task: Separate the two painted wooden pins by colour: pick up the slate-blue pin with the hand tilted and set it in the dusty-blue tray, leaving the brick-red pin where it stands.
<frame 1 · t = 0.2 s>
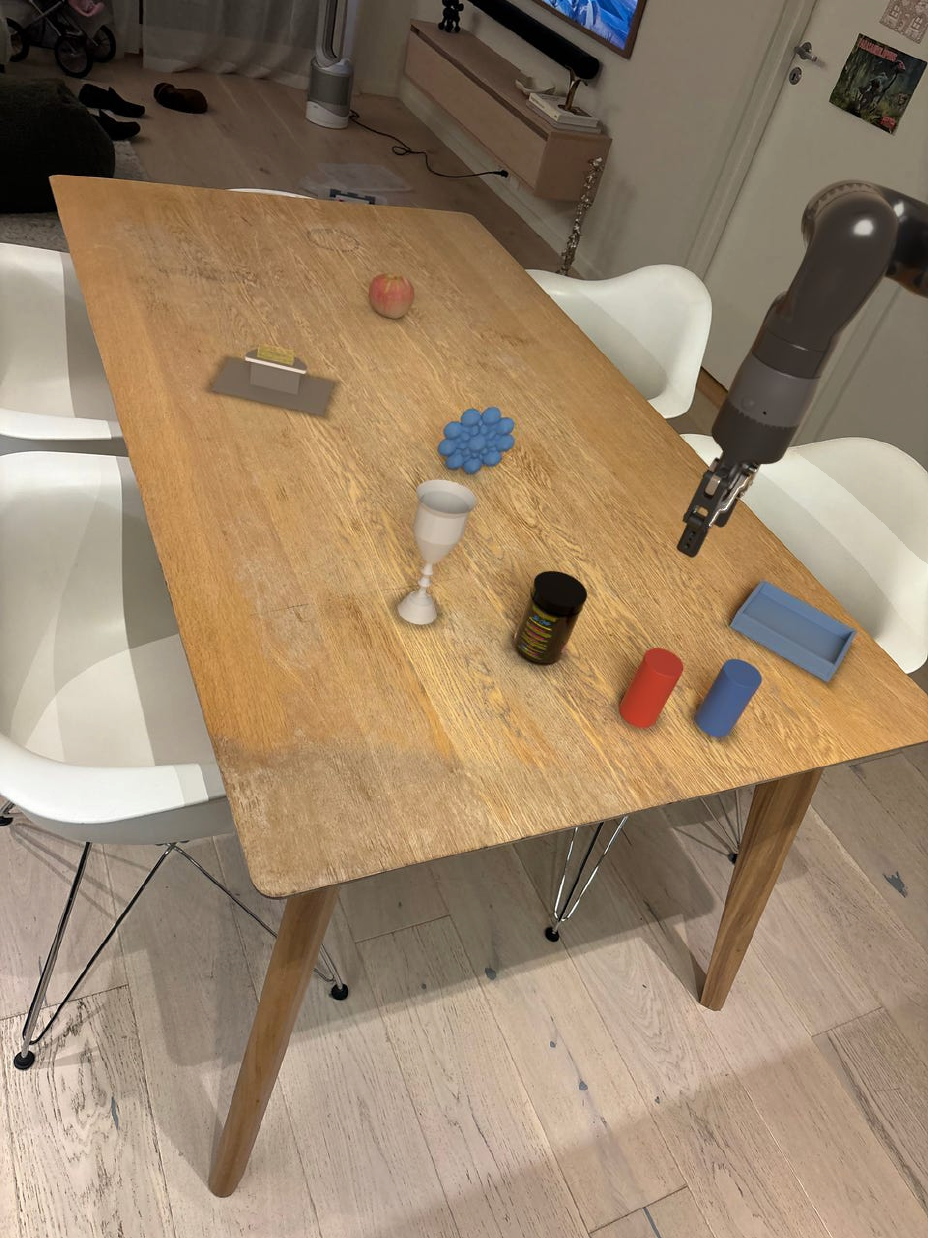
hand: (700, 537, 99), 25 cm above the table, tool pointing down, fingers open, 8 cm apart
red pin: (637, 713, 113), on the table
supplement container: (536, 651, 118), on the table
chalice: (416, 612, 118), on the table
blue bubble cluster: (467, 470, 147), on the table
blue tray: (789, 635, 133), on the table
apple: (387, 315, 184), on the table
blue pin: (712, 723, 115), on the table
platform: (274, 387, 152), on the table
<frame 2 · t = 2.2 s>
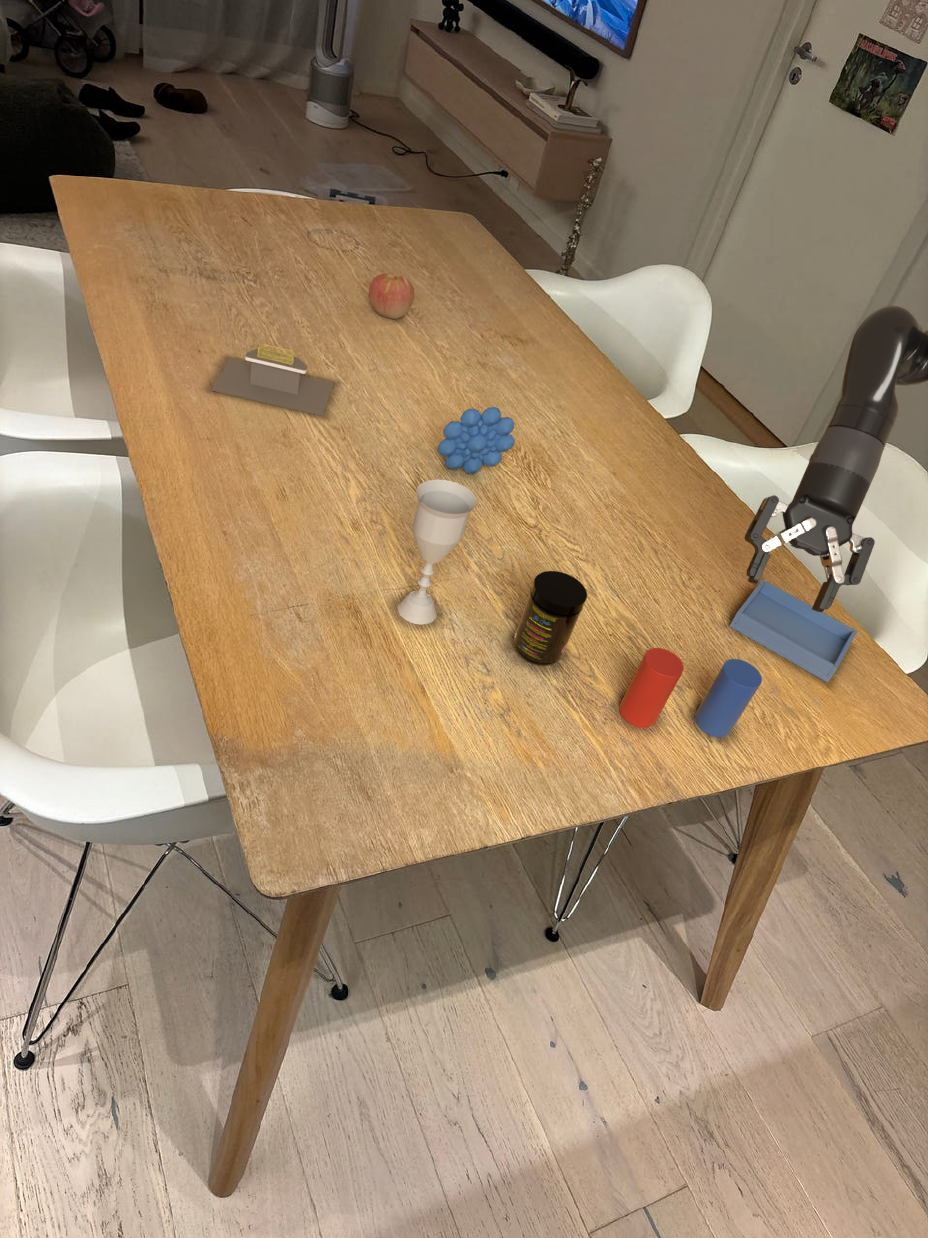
hand: (785, 596, 111), 16 cm above the table, tool tilted 40°, fingers open, 8 cm apart
nothing on the table moved.
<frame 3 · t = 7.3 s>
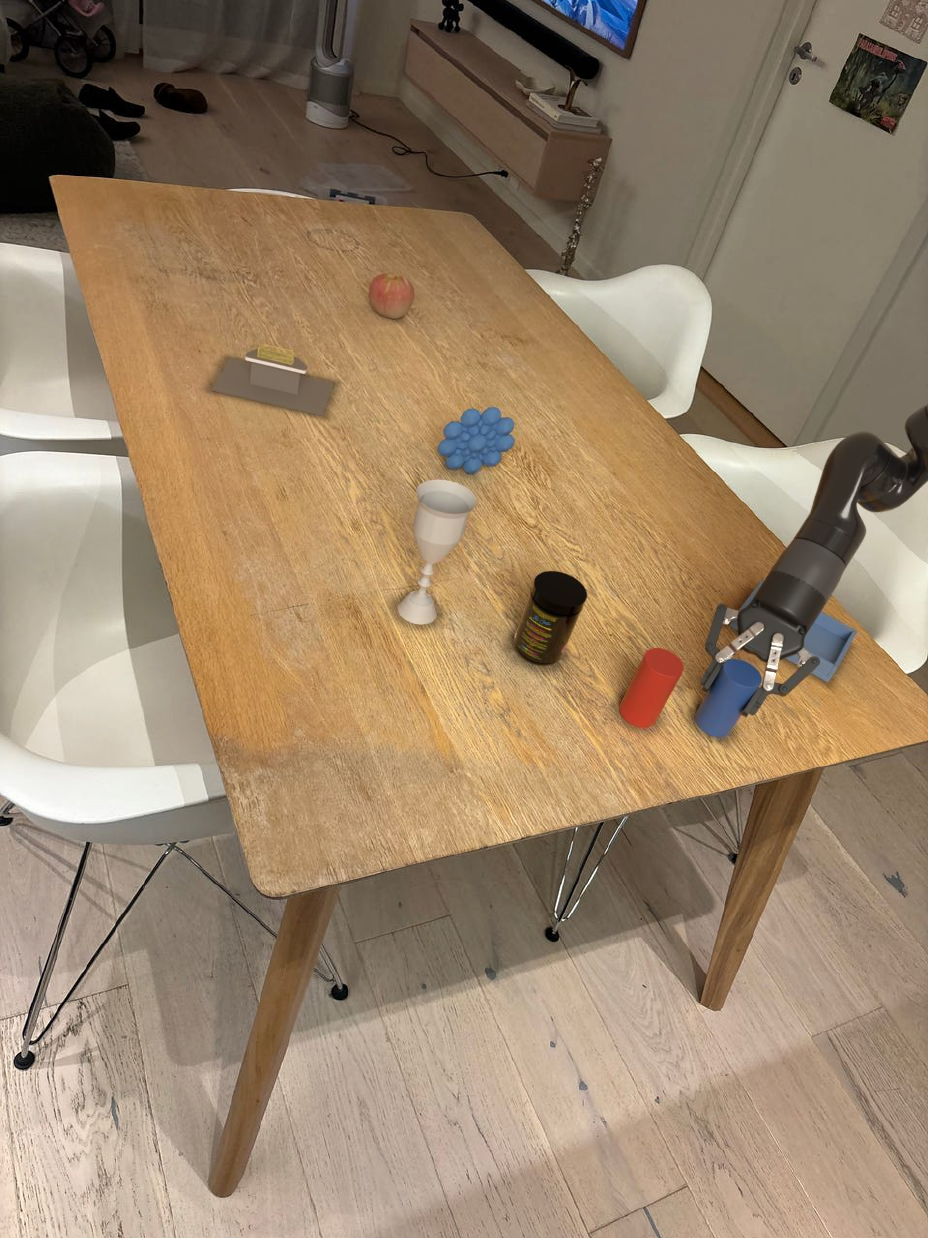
hand: (724, 703, 110), 5 cm above the table, tool tilted 45°, fingers closed on blue pin, 4 cm apart
blue pin: (712, 723, 115), on the table, touching gripper
everything else where it was.
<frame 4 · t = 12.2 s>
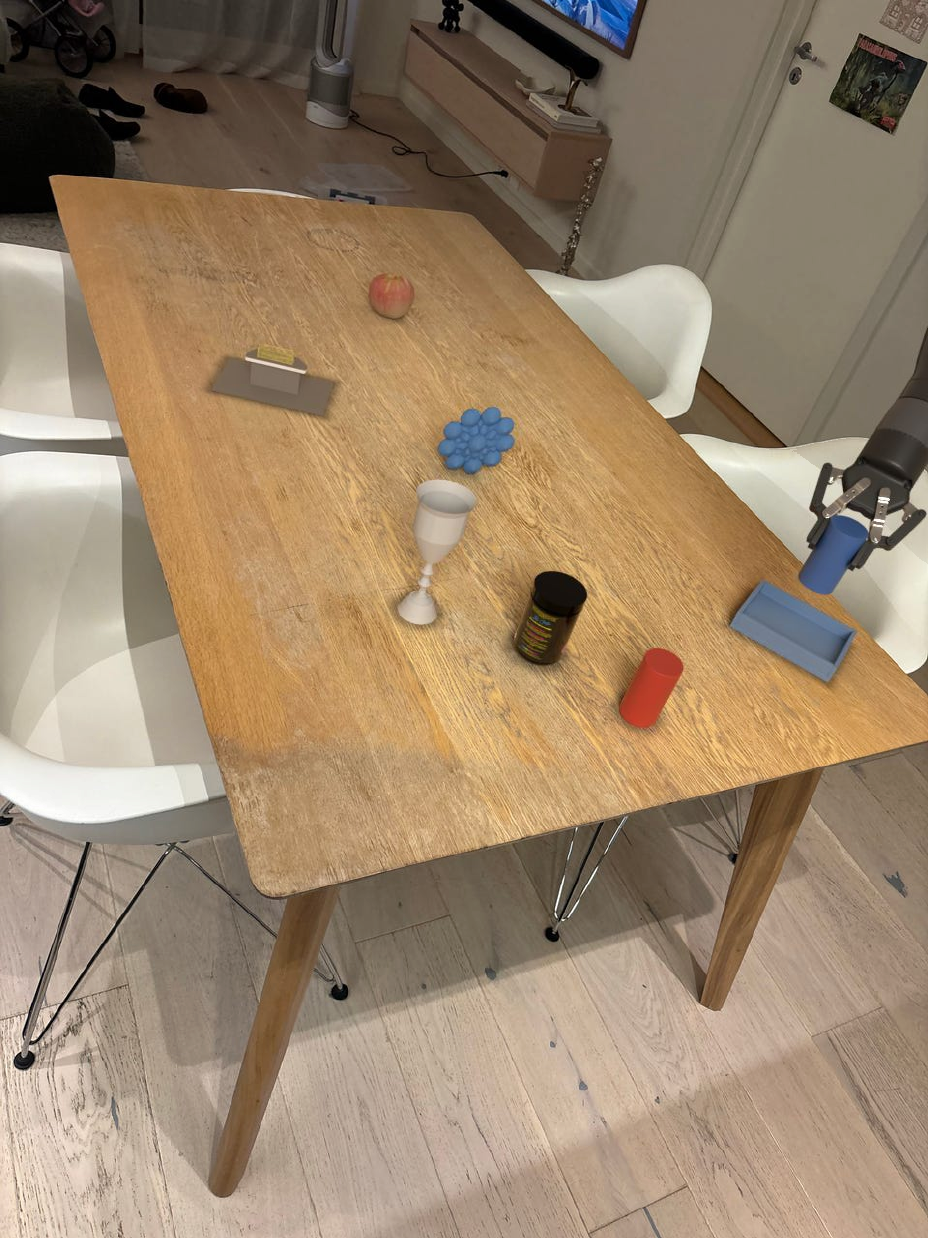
hand: (831, 557, 114), 19 cm above the table, tool tilted 45°, fingers closed on blue pin, 4 cm apart
blue pin: (815, 582, 118), point 14 cm above the table, touching gripper
everything else where it was.
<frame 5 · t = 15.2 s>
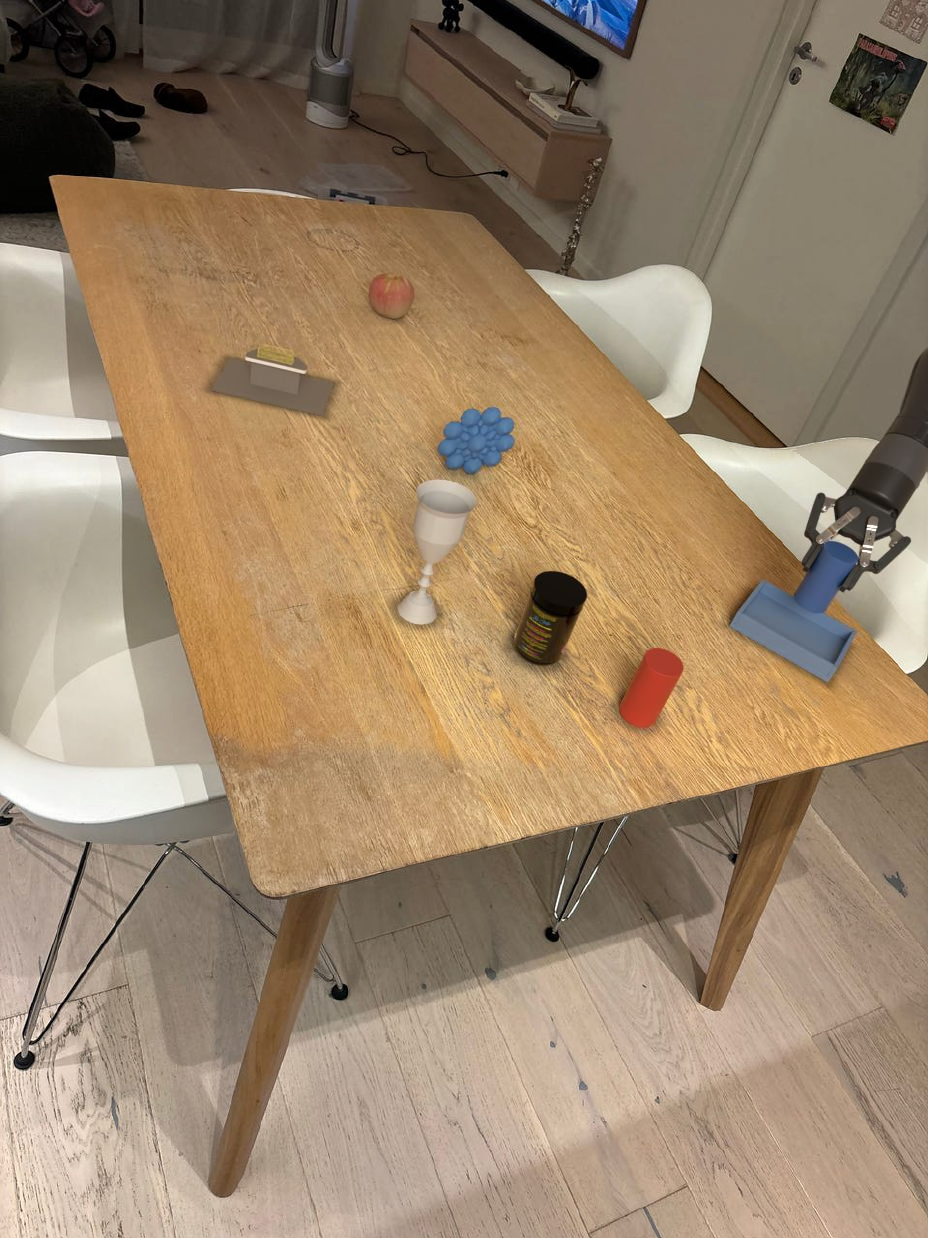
hand: (823, 579, 124), 12 cm above the table, tool tilted 45°, fingers closed on blue pin, 4 cm apart
blue pin: (810, 602, 129), point 6 cm above the table, touching gripper
everything else where it was.
when the fingers open (6 cm above the table, at t = 17.3 s): blue pin stays where it is, resting on blue tray.
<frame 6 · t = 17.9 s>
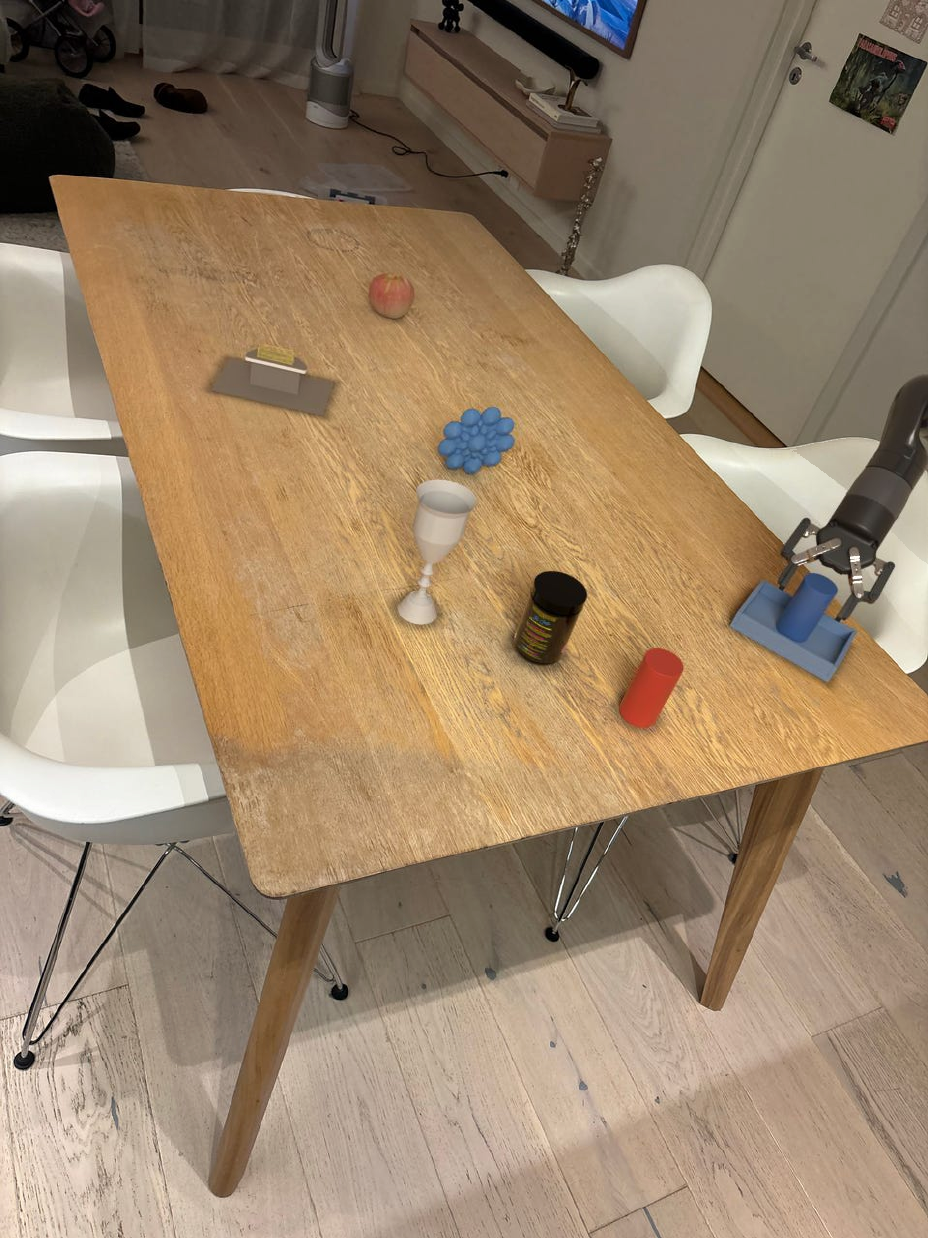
hand: (809, 604, 127), 7 cm above the table, tool tilted 45°, fingers open, 8 cm apart
blue pin: (791, 631, 132), point 1 cm above the table, touching blue tray
everything else where it was.
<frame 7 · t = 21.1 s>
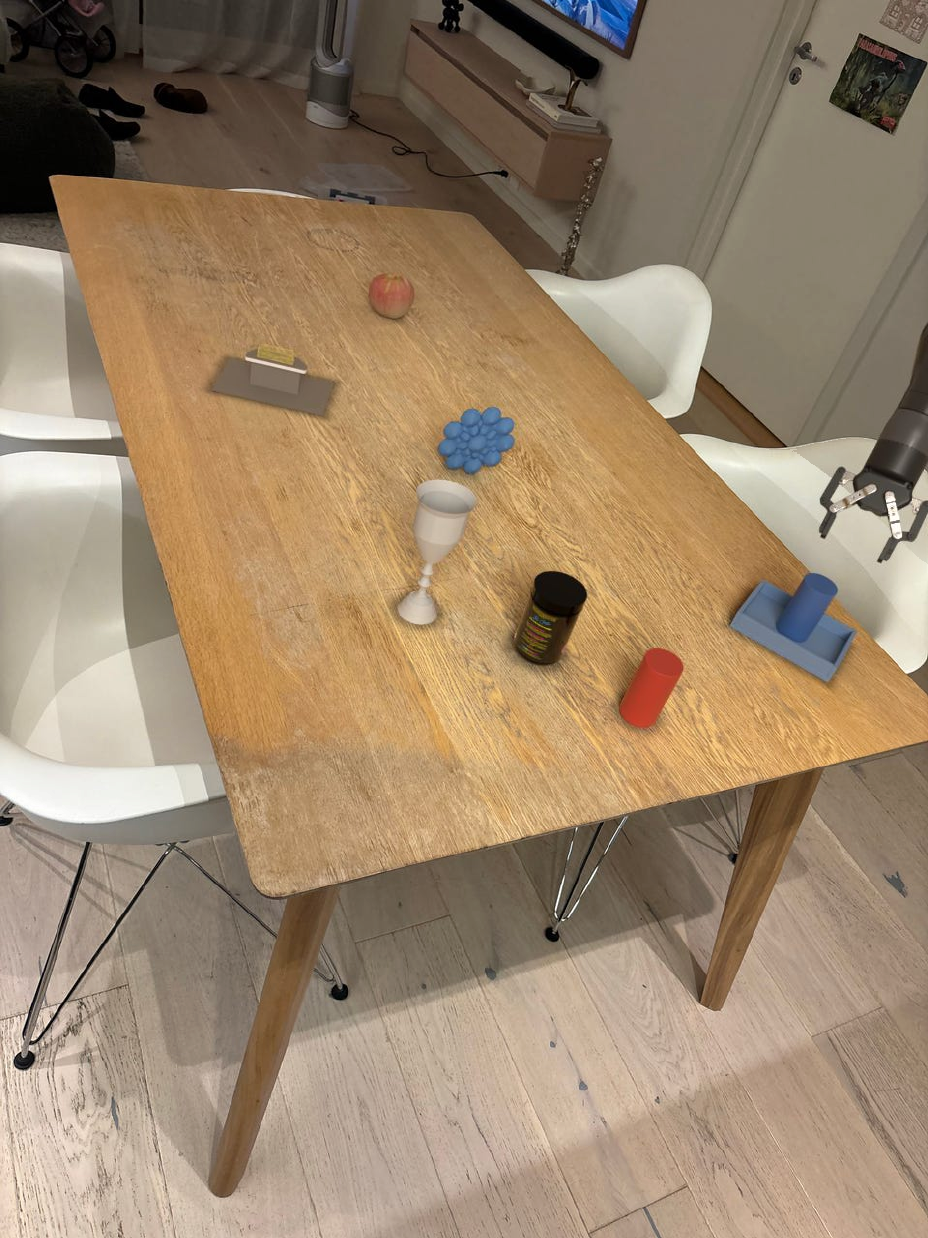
hand: (850, 549, 134), 10 cm above the table, tool tilted 35°, fingers open, 8 cm apart
nothing on the table moved.
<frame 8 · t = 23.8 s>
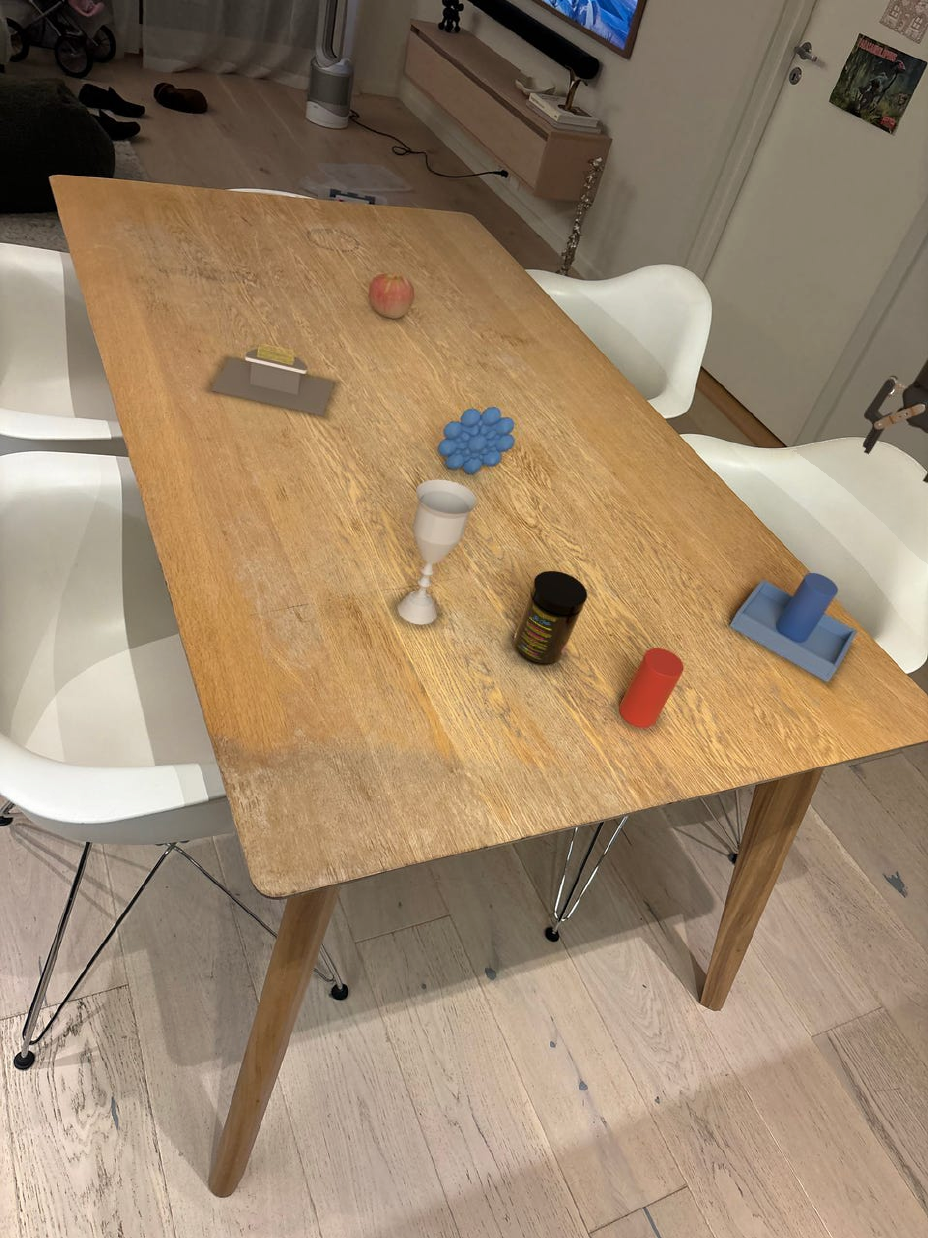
hand: (896, 465, 126), 24 cm above the table, tool pointing down, fingers open, 8 cm apart
nothing on the table moved.
at the end: blue pin inside the target area in the blue tray (0.1 cm from its centre), point 0.8 cm above the blue tray's base; blue pin tilted 0°; red pin moved 0.0 cm from its start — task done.
